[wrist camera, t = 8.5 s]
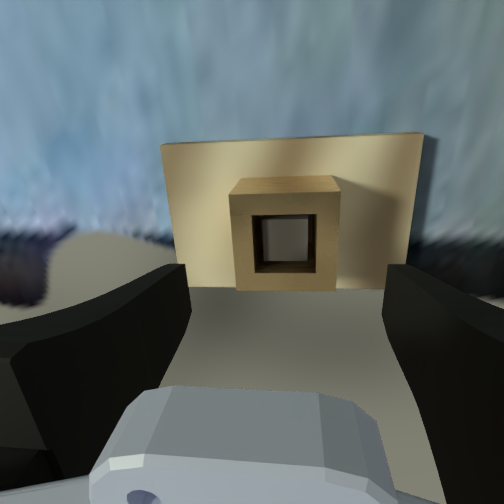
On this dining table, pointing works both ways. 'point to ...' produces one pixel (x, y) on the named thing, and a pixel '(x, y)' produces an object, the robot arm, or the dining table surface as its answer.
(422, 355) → the robot arm
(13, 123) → the dining table surface
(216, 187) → the post stand
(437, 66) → the dining table surface
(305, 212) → the collar
